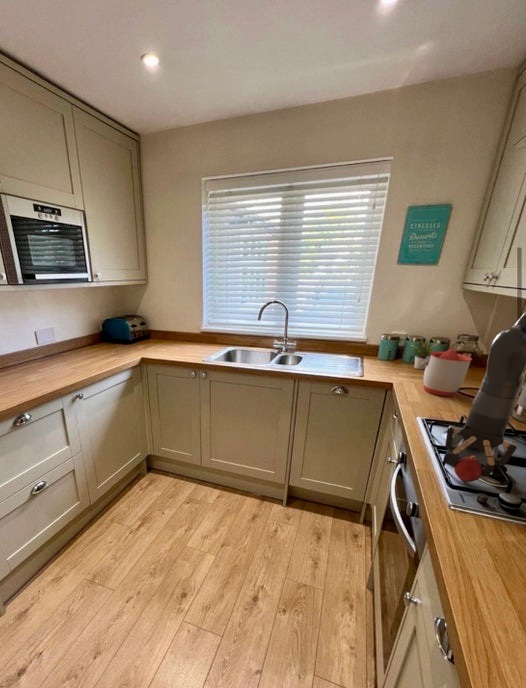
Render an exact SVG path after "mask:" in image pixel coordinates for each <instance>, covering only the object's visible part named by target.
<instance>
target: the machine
mask: <svg viewBox="0 0 526 688" xmlns="http://www.w3.org/2000/svg"><path fill="white" fill-rule="evenodd" d="M462 440H463V437H462V435H461V434H457V435H456V436H453V442H452V444H453V445H455V446H456V445H458V444H459V443H460V442H461V441H462ZM499 446H500V445H499ZM499 446H497V447H495V448H493V451H494V456H495V458H498V454H499V448H500V447H499ZM451 455H452V452H451V451H450V450H447V451H446V454H445V456H444V459H443V463H444V462H445V463H444V464H447V465H450V466H451V465H452V464H450V463H449V461H450V458H451ZM471 456H476V460H477V461H478V462H479V463H480V464H481V466H482V469H483V468H484V467H485V464H486V462H487V461H488V460H487V457H486V452H485V451H481V450H478V449H477V448H471V447H469V446H467V447H466V448H465V449H463V450H462V451H460V452H459V455H458V458H457V461H459V460H460V459H462V458H465V457H471ZM457 461H456V462H457Z"/></svg>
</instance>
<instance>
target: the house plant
mask: <svg viewBox="0 0 526 688" xmlns="http://www.w3.org/2000/svg"><path fill="white" fill-rule="evenodd" d="M417 343H418V344H419V345H418V346H419V347H417V346H415V345H413V344H410V346H411V347H412V348H414V350H415V351H416V353H418V355H415V357H414V369H417V370H425V369H426V364H422V362H423V361H424V360H426V359H429V357H430V354H431V352H434V351H433V349H435V348H436V346H438V345H439V344H440V342H436V341H434V342H433V344H432V343H431V342H429V340H428V339H426V340H425V343H424V342H423V341H419V340H417ZM431 345H432V346H431Z"/></svg>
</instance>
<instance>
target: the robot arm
mask: <svg viewBox="0 0 526 688" xmlns="http://www.w3.org/2000/svg"><path fill="white" fill-rule="evenodd" d="M525 368H526V311H524V312H523V314H522V315H521V316H520V317H519V319H518V320H517V321H516V322H515V323H514V324H513V326H511V327H508V328H505V329H503V330H501V331H500V332H499V333H497V334H496V336H495V337H494V338H493V340H492V342H491V345H490V347H489V351H488V355H487V362H486V371H485V372H484V375H483V377H482V380H481V384H480V386H479V389H478V391H477V393H476V395H475V396H474V399H473V402H472V403H471V407H470V409H469V413H468V415H467V418H466V421H465V423H464V425H463V426H462V427H457V426H454V425H453V424H450V425H449V426H448V427H447V430H446V438H445V445H444V448H445V450H447V451H448V450H450V451H451V452H452V455H451V458H450V461H449V463H450V464H452V465H450V464H449V465H450V467H452V468H454V466H455V463H456V461H457V458H458V455H459V452H460V451H462V450H463V449H465V448H466V447H467V446H469V447H471V448H477V449H478V450H481V451H485V452H486V457H487V460H488V461H487V462H486V464H485V467H484V469H483V472H482V476H481V477H483V478H486V476H489V475H490V473H491V471H492V468H493V466H494V465H496V466H500V467H504V466H505V465H506V464H507V463H508V462H509V460H510V459H511V457H512V456H513V455H514V453H515V452H516V450H517V446H518V444H517V442H515V441H509V440H506V439H504V434H505V431H506V429H507V427H508V424H509V422H510V420H511V417H512V416H513V415H514V410H515V408H516V404H517V399H518V397H519V394H520V392H521V390H522V388H523V384H524V381H525V374H524V372H525ZM459 433H460V435H461V436H462V437H463V440H462V441H461V442H460V443H459V444H458V445H456V446H455V445H453V444H452V442H453V437H454V436H456V435H458V434H459ZM501 445H502V447H503V450H504V451H503V452H502V454H501V455H500V457H497V458H495V456H494V451H493V448H495V447H497V446H501Z"/></svg>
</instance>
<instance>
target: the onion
mask: <svg viewBox="0 0 526 688" xmlns="http://www.w3.org/2000/svg"><path fill="white" fill-rule="evenodd" d="M453 471H454V474H455V475H456V476H457V478H458V479H459V480H460V481H461V482H462V483H471V482H475V481H477V480H479V479H481V477H483V476H482V472H483V469H482V466H481V464H480V463H479V462H478V461H477V460H476V456H471V457H465V458H462V459H460V460H459V461H457V462H456V463H455V466H454V467H453Z"/></svg>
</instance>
